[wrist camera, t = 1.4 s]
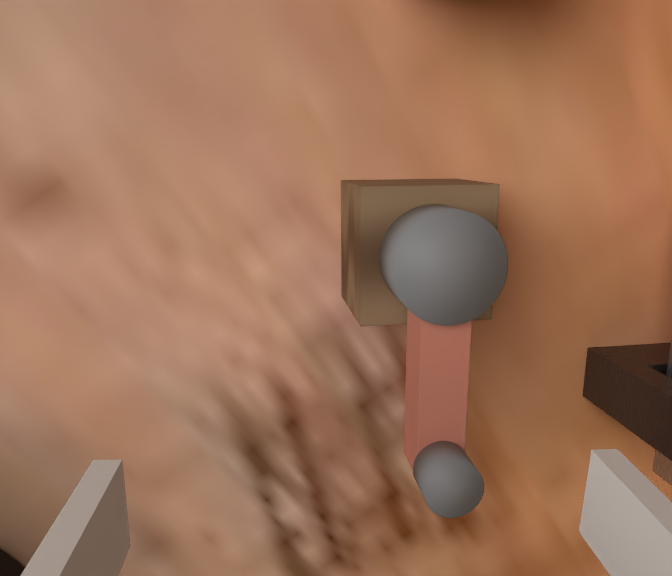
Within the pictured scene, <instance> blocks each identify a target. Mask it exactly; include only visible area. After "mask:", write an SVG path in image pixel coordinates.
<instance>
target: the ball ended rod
mask: <svg viewBox="0 0 672 576" xmlns="http://www.w3.org/2000/svg"><path fill="white" fill-rule="evenodd" d="M379 264H380V271H381V274H382V277H383V280H384V282H385V284H386V286H387V287H388V289H389V290H390V291H391V292H392V293H393V294H394V295H395V296H396V297H397V298H398V299H399V300H400V301H401V302H402V304H403V305H404V306H405V307H406V308H407V309H408V312H407V352H406V392H405V433H404V453H405V455H406V457H407V459H408V461H409V463H410V465H411V467H412V469H413V474H414V478H415V480H416V482H417V484H418V486H419V488H420V490H421V492H422V494H423V496H424V498H425V500H426V502H427V504H428V506H429V508H430V509H431V510H432V511H433V512H434V513H435V514H437V515H439V516H442V517H445V518H456V517H460V516H463V515H465V514H467V513H469V512H470V511H472V510H473V509H474V508H475V507H476V506H477V505H478V504H479V502H480V500H481V499H482V496H483V493H484V481H483V478H482V476H481V474H480V473H479V472H478V470H477V469H476V467H475V466H474V464H473V463H472V462H471V460H470V459H469V457H468V456H467V455H466V453H465V435H466V417H467V398H468V379H469V361H470V342H471V324H472V320H473V319H475V318H477V317H478V316H480V315H481V314H483V313H484V312H485V311H486V310H487V309H488V308H490V306H491V305H492V304H493V303H494V302H495V300H496V299H497V298H498V296H499V294H500V292H501V291H502V289H503V286H504V283H505V280H506V276H507V270H508V257H507V251H506V247H505V244H504V242H503V239H502V237H501V236H500V234H499V232H498V231H497V230H496V228H495V227H494V226H493V225H492V224H491V223H490V222H488V221H487V220H486V219H484V218H483V217H481V216H479V215H477V214H474V213H471V212H468V211H464V210H460V209H457V208H453V207H449V206H446V205H440V204H427V205H422V206H418V207H415V208H413V209H411V210H409V211H407V212H405V213H404V214H402V215H401V216H400V217H399V218H398V219H397V220H395V221H394V223H393V224H392V225H391V226H390V228H389V229H388V231H387V232H386V234H385V236H384V238H383V241H382V244H381V248H380V255H379Z"/></svg>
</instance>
